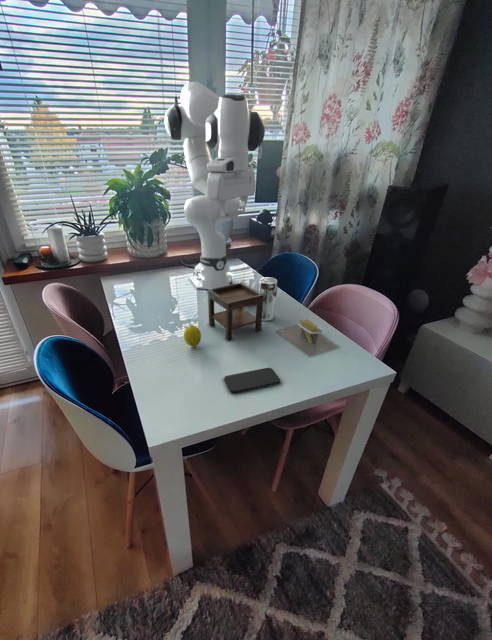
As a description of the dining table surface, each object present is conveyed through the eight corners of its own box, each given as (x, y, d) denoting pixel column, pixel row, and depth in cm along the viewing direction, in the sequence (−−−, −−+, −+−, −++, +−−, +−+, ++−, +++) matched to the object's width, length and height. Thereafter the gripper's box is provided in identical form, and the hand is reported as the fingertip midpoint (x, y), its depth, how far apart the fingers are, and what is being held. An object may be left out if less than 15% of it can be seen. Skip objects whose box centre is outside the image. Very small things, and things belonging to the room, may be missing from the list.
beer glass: (273, 322, 123) (277, 284, 115) (255, 320, 125) (257, 283, 116) (275, 314, 129) (278, 277, 121) (257, 312, 130) (259, 276, 122)
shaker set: (235, 309, 133) (235, 283, 127) (230, 305, 137) (230, 279, 130) (260, 304, 137) (262, 278, 131) (255, 300, 141) (257, 275, 134)
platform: (309, 356, 104) (312, 338, 100) (277, 331, 117) (278, 315, 113) (338, 347, 108) (342, 329, 105) (303, 324, 122) (306, 308, 118)
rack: (208, 324, 122) (207, 289, 114) (240, 316, 128) (241, 282, 120) (228, 340, 112) (228, 303, 104) (261, 330, 118) (263, 294, 110)
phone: (223, 376, 94) (270, 366, 97) (223, 378, 94) (270, 369, 98) (231, 391, 88) (281, 381, 91) (231, 394, 88) (281, 383, 92)
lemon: (194, 340, 112) (192, 319, 108) (204, 346, 109) (203, 325, 105) (181, 346, 109) (179, 325, 105) (192, 352, 106) (190, 331, 101)
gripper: (244, 162, 105) (243, 208, 112) (203, 164, 91) (205, 217, 99) (261, 162, 101) (259, 210, 109) (220, 165, 88) (221, 219, 96)
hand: (233, 213), depth 104 cm, fingers open, 8 cm apart
